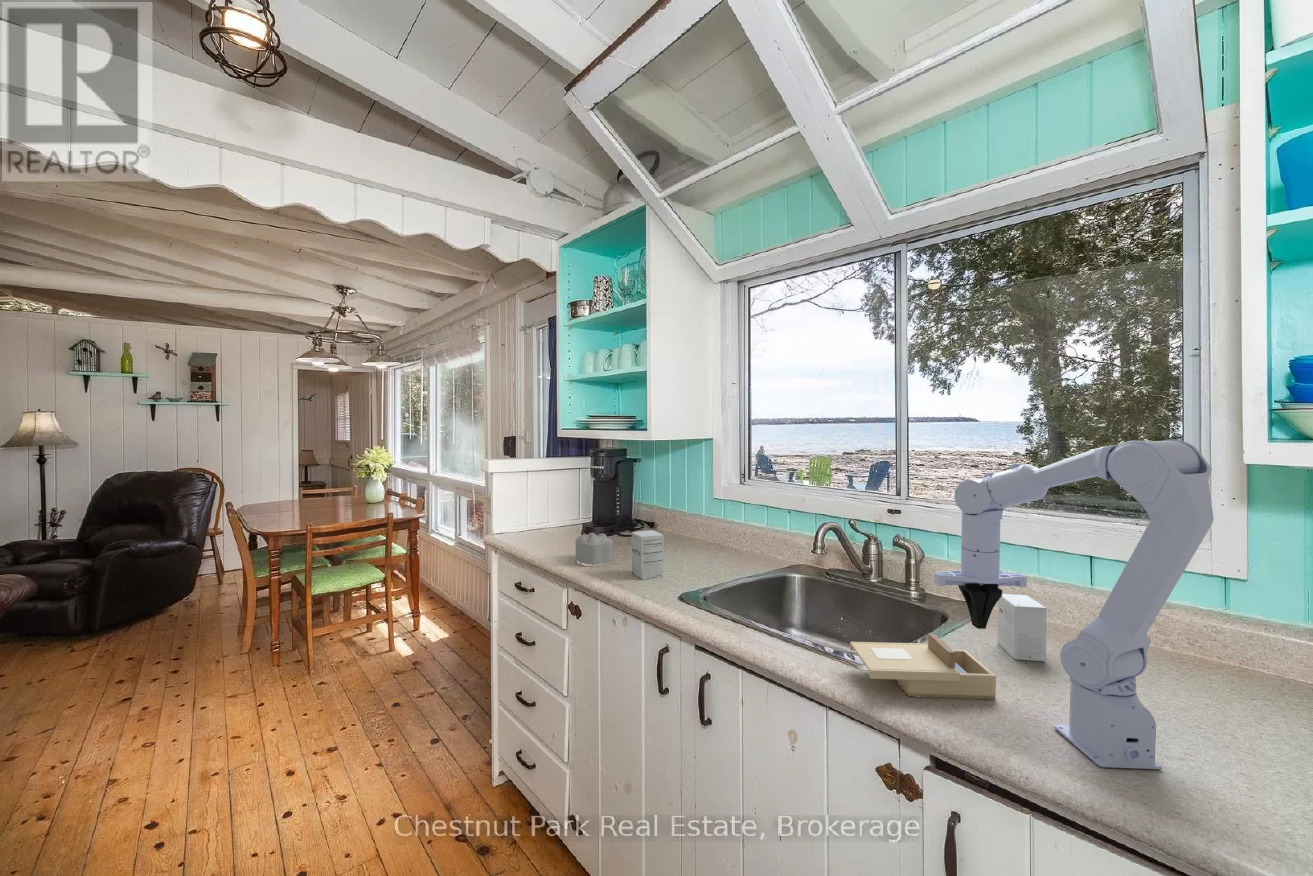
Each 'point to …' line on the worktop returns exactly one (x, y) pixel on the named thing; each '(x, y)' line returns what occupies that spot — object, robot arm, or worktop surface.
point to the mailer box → (971, 685)
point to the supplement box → (647, 554)
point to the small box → (1022, 627)
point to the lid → (908, 660)
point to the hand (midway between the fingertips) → (978, 626)
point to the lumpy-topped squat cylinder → (594, 549)
